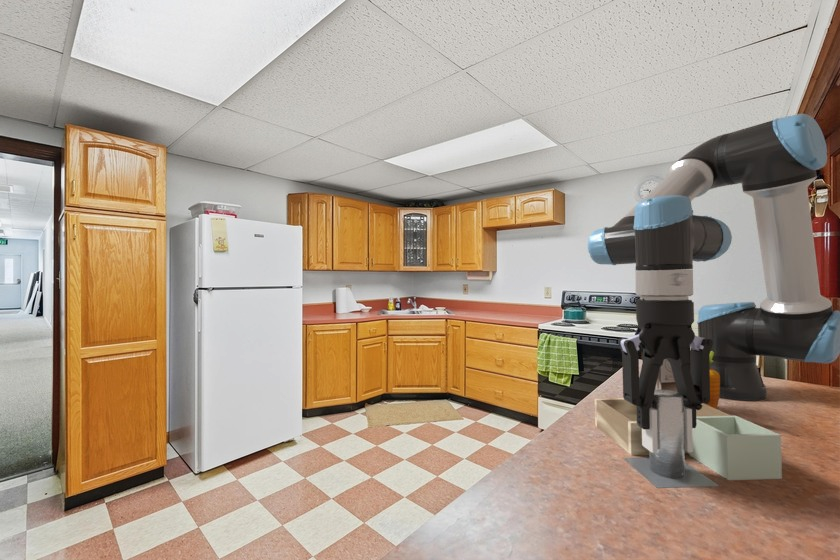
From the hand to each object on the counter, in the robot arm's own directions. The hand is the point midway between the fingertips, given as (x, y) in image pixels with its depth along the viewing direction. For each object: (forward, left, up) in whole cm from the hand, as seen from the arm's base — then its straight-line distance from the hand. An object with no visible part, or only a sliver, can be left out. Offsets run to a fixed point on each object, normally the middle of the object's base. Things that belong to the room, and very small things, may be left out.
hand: (666, 448), depth 59 cm
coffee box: (-19, -29, -4) cm, 35 cm away
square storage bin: (-11, -1, -4) cm, 12 cm away
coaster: (0, 0, -4) cm, 4 cm away
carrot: (-21, -20, -4) cm, 29 cm away
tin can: (0, 0, -4) cm, 4 cm away
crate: (-7, -12, -4) cm, 15 cm away
